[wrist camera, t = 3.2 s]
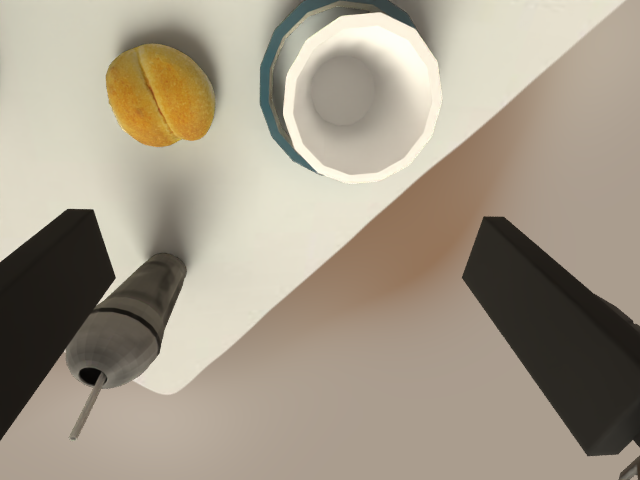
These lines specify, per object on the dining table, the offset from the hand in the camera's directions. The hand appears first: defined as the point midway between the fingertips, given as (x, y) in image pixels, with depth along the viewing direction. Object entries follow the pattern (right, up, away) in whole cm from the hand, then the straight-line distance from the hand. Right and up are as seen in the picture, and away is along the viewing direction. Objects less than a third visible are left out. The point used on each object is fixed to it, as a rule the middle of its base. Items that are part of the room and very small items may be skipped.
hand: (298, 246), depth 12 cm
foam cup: (+3, +14, +20) cm, 24 cm away
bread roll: (-14, +13, +20) cm, 27 cm away
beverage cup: (-17, -3, +28) cm, 33 cm away
